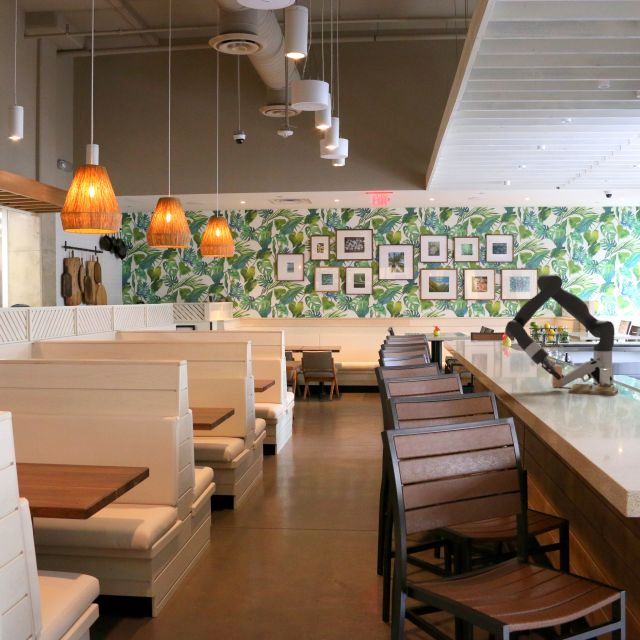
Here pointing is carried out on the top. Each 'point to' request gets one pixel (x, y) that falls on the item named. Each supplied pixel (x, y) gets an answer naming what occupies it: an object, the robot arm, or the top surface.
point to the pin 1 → (554, 381)
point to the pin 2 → (604, 377)
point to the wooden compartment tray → (593, 389)
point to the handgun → (585, 372)
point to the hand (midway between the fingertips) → (561, 378)
